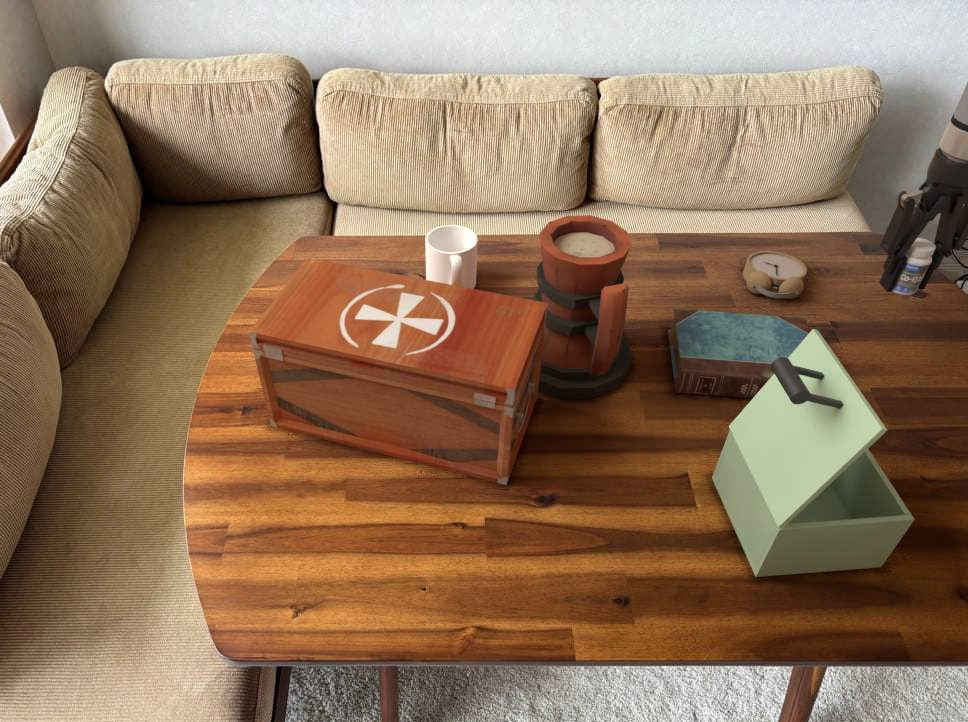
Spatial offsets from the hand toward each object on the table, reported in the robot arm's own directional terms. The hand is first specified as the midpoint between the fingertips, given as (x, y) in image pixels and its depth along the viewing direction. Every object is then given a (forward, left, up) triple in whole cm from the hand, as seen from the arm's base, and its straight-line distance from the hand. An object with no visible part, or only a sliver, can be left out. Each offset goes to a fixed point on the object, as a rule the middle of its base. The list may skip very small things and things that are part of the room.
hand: (901, 285), depth 128 cm
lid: (+5, +49, +6) cm, 50 cm away
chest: (+1, +46, -14) cm, 48 cm away
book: (+18, +17, -14) cm, 28 cm away
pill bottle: (0, 0, -1) cm, 1 cm away
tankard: (+43, +32, -14) cm, 56 cm away
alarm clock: (+20, -10, -14) cm, 27 cm away
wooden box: (+61, +58, -14) cm, 85 cm away
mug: (+73, +24, -14) cm, 78 cm away
